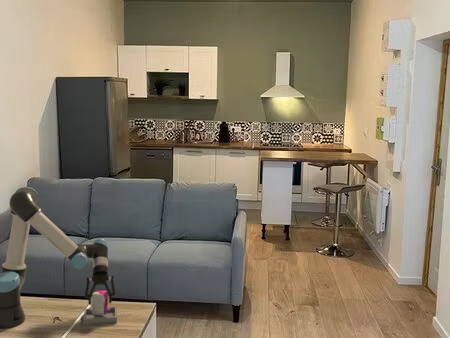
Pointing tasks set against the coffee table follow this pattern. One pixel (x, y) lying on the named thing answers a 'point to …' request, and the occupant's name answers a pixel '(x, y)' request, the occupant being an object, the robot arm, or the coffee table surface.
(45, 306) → the coffee table surface
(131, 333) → the coffee table surface
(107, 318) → the tray
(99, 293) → the supplement box
